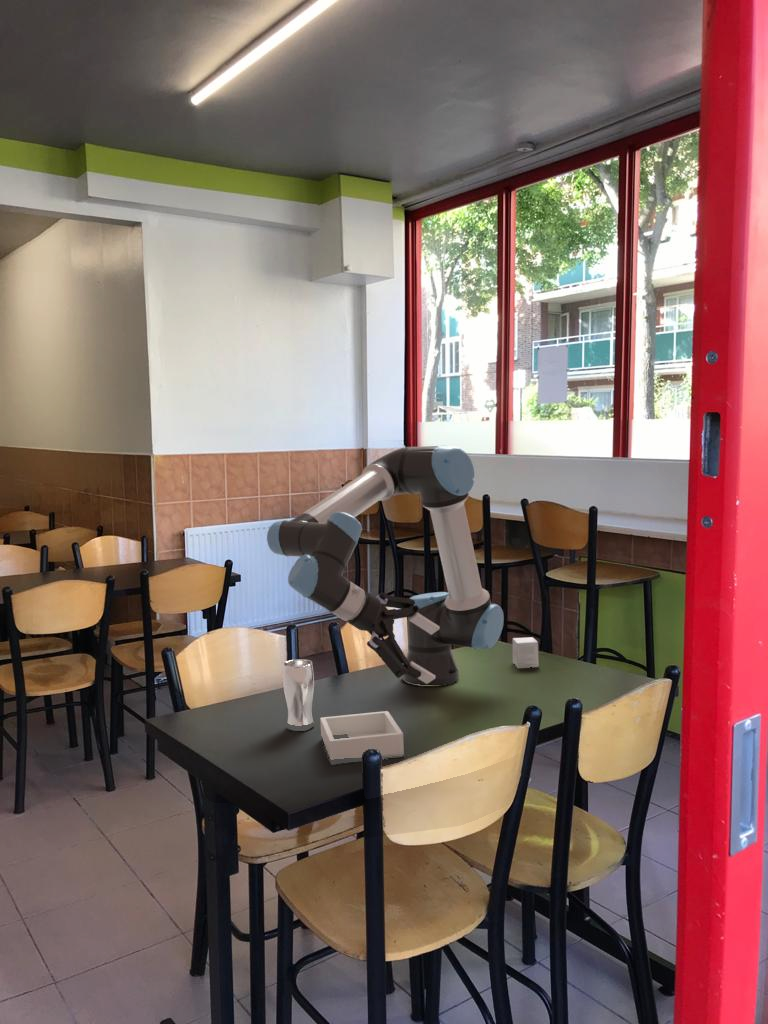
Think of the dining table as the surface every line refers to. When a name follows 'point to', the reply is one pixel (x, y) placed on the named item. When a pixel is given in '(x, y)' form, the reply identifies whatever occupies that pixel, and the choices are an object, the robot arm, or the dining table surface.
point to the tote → (362, 735)
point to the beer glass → (298, 690)
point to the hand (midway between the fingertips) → (433, 654)
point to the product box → (525, 652)
